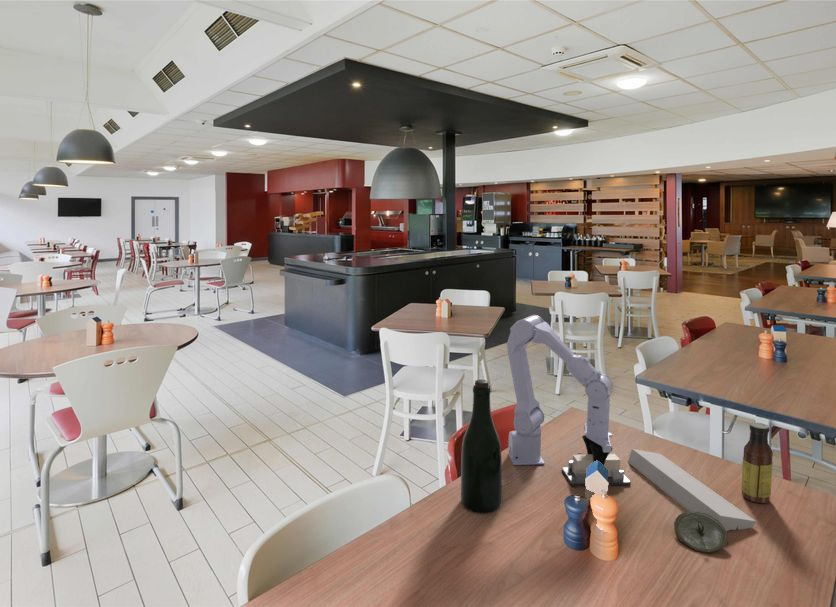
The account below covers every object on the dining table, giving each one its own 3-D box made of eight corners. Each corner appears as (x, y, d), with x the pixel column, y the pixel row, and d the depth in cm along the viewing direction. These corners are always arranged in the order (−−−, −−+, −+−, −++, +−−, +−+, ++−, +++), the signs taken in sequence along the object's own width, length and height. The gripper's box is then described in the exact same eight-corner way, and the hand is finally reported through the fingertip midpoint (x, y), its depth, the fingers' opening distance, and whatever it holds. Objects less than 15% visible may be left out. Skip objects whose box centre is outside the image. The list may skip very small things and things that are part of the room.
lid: (728, 536, 110) (730, 516, 109) (725, 561, 102) (727, 539, 101) (676, 520, 116) (678, 501, 116) (669, 542, 108) (671, 522, 108)
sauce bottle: (768, 495, 126) (776, 423, 123) (771, 507, 121) (779, 432, 118) (738, 488, 130) (745, 418, 126) (739, 500, 124) (747, 427, 121)
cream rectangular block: (576, 477, 134) (577, 460, 134) (572, 471, 138) (572, 454, 137) (619, 476, 135) (620, 459, 134) (614, 470, 138) (614, 453, 137)
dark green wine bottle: (508, 500, 126) (510, 378, 121) (490, 520, 118) (491, 390, 112) (472, 488, 132) (472, 372, 127) (453, 507, 123) (452, 383, 118)
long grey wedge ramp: (655, 468, 147) (627, 463, 145) (660, 454, 146) (631, 448, 144) (749, 539, 114) (713, 534, 112) (756, 521, 113) (720, 515, 111)
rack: (572, 487, 132) (572, 475, 131) (561, 470, 141) (562, 459, 140) (630, 485, 132) (631, 473, 132) (616, 468, 141) (617, 457, 140)
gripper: (623, 429, 126) (621, 477, 129) (601, 408, 141) (599, 452, 143) (597, 430, 126) (594, 478, 129) (577, 409, 141) (576, 453, 143)
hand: (595, 464), depth 136 cm, fingers closed on cream rectangular block, 3 cm apart
